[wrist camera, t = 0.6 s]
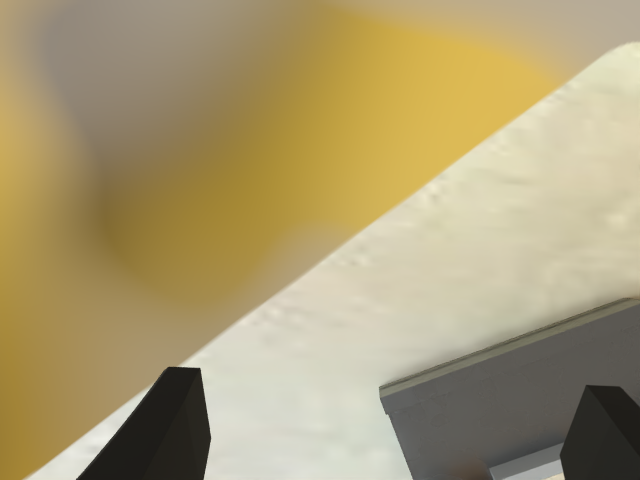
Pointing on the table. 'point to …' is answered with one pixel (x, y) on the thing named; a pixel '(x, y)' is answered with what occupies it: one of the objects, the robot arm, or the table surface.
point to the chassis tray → (512, 393)
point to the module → (532, 466)
